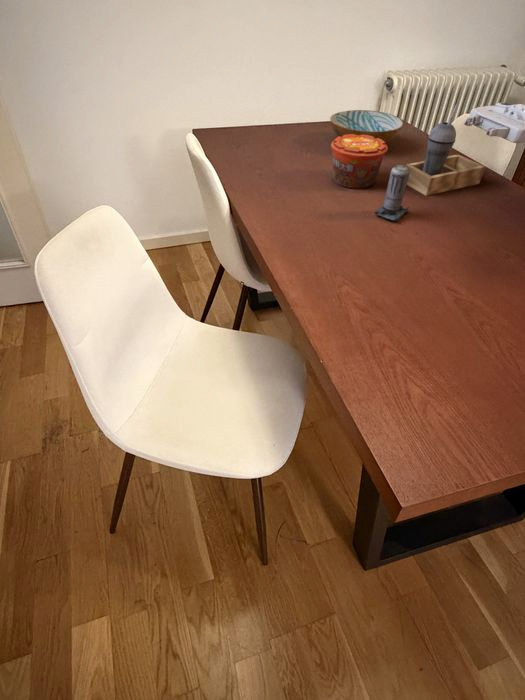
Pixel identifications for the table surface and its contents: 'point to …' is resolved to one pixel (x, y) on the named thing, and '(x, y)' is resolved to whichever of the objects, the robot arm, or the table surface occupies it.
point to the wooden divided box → (445, 175)
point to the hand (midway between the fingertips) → (477, 127)
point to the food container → (357, 160)
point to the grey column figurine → (395, 194)
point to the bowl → (366, 124)
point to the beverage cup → (439, 146)
